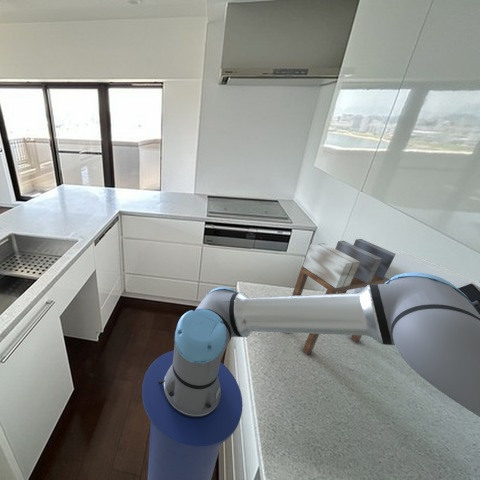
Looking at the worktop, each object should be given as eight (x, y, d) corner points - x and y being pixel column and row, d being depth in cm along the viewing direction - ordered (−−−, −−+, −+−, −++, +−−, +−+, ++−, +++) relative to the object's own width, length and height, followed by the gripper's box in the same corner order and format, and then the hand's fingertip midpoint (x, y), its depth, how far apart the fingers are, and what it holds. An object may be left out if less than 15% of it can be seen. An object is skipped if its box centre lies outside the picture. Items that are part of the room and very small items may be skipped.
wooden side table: (359, 341, 89) (404, 255, 74) (306, 354, 82) (344, 263, 68) (329, 317, 99) (363, 238, 85) (281, 327, 93) (309, 244, 78)
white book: (503, 333, 53) (528, 302, 49) (496, 335, 52) (522, 304, 49) (390, 275, 72) (403, 250, 68) (384, 276, 71) (396, 251, 68)
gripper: (532, 422, 45) (427, 297, 57) (576, 399, 49) (469, 287, 61) (599, 422, 39) (465, 282, 51) (642, 396, 43) (509, 273, 55)
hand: (468, 285), depth 56 cm, fingers closed on white book, 2 cm apart
